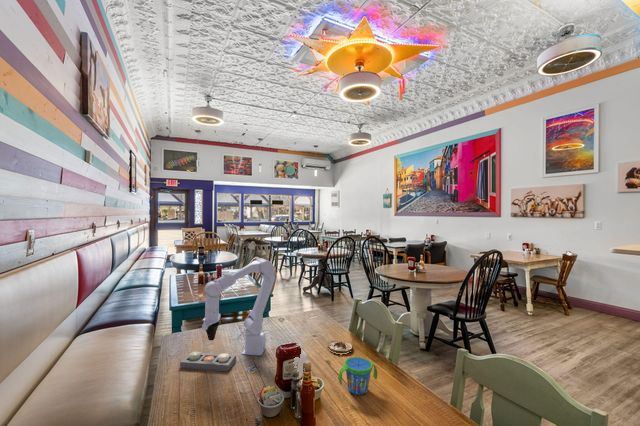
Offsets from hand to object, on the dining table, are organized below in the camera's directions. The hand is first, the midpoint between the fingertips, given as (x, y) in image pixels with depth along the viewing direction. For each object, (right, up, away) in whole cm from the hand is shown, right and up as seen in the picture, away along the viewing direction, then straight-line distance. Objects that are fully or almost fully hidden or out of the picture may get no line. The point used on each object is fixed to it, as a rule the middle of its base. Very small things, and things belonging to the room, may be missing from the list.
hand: (211, 339), depth 130 cm
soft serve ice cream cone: (+39, -10, -17) cm, 44 cm away
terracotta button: (0, -9, -3) cm, 10 cm away
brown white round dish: (+59, -12, +14) cm, 61 cm away
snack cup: (+63, -11, -19) cm, 67 cm away
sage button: (-6, -7, -2) cm, 10 cm away
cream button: (+6, -8, -3) cm, 11 cm away
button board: (0, -9, -3) cm, 10 cm away
